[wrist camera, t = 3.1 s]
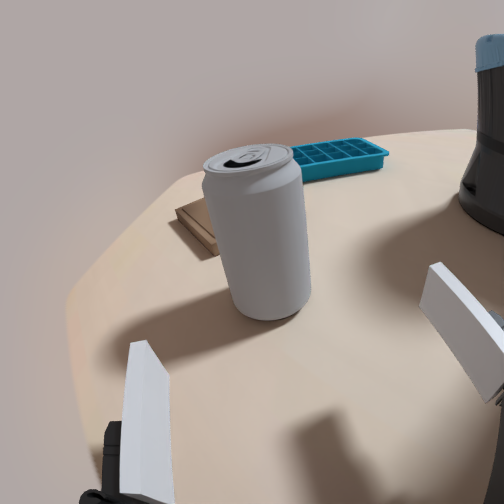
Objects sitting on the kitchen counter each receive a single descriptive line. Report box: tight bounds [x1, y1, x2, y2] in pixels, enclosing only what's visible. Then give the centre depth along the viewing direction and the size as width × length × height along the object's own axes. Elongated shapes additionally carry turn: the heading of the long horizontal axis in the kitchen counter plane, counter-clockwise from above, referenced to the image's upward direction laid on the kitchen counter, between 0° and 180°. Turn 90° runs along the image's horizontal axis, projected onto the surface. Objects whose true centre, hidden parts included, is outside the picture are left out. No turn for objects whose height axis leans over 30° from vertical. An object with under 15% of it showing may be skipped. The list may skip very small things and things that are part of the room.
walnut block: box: [175, 197, 220, 256], centre depth 37 cm, size 12×12×2 cm
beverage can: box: [202, 144, 311, 320], centre depth 21 cm, size 6×6×12 cm
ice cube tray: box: [290, 138, 389, 182], centre depth 47 cm, size 12×20×3 cm, turn 99°
